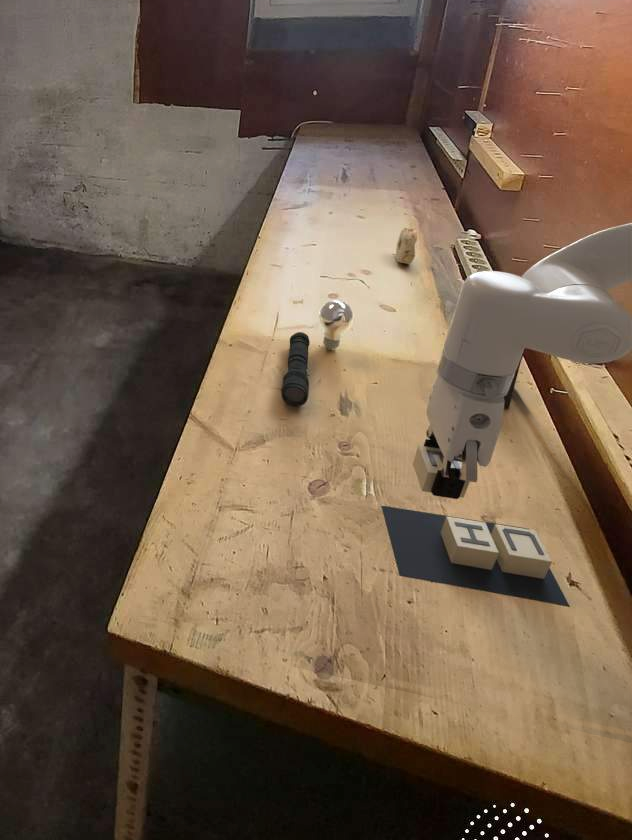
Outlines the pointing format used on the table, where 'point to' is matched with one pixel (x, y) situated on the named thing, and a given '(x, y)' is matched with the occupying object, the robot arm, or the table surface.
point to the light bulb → (335, 321)
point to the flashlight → (296, 371)
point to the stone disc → (406, 245)
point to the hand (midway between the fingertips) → (438, 478)
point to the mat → (430, 561)
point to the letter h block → (469, 543)
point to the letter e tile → (431, 467)
